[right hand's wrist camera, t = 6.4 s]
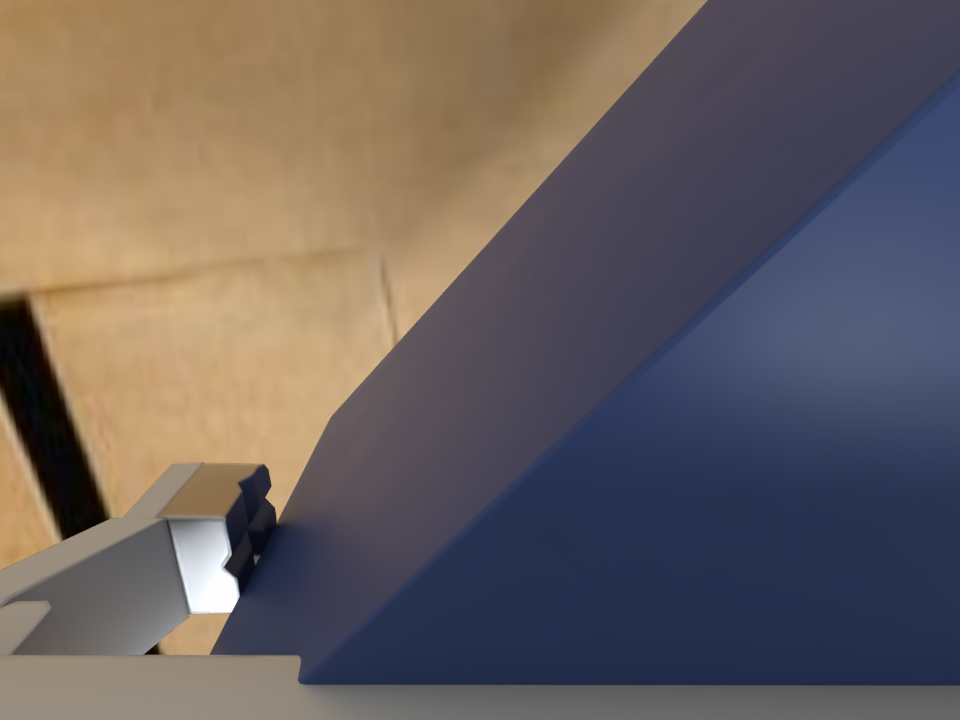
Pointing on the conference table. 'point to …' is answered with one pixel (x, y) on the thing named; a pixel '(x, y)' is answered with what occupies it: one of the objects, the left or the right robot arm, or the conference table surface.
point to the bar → (671, 396)
